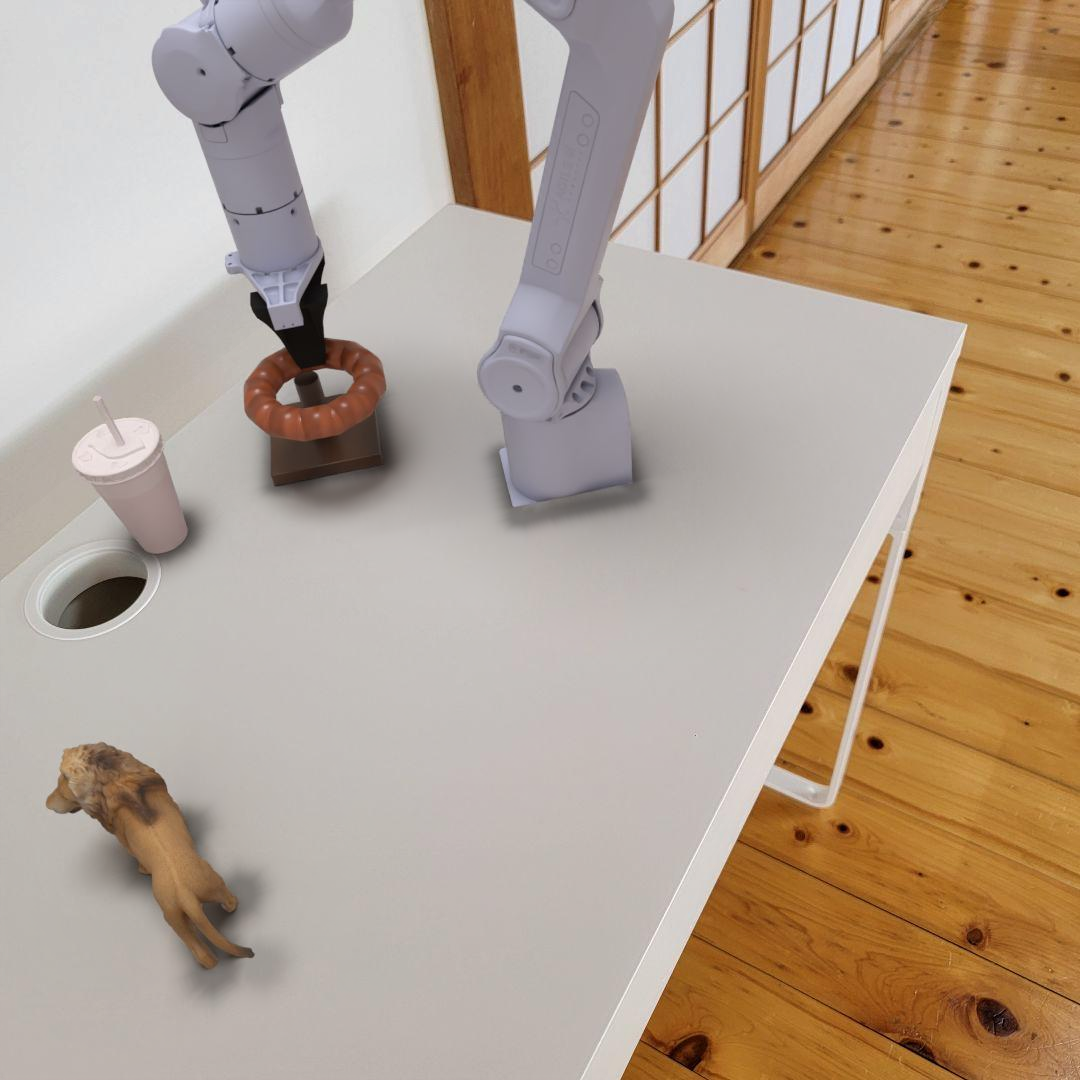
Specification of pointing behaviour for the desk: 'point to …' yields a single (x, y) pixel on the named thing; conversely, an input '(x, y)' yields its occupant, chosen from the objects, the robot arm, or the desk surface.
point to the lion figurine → (147, 838)
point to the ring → (322, 417)
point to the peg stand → (323, 442)
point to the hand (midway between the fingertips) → (312, 353)
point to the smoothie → (133, 478)
